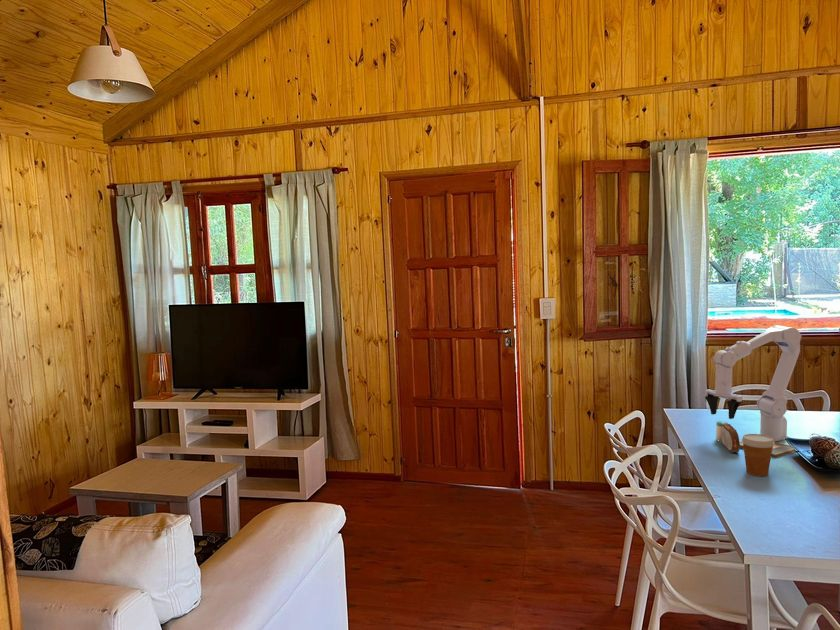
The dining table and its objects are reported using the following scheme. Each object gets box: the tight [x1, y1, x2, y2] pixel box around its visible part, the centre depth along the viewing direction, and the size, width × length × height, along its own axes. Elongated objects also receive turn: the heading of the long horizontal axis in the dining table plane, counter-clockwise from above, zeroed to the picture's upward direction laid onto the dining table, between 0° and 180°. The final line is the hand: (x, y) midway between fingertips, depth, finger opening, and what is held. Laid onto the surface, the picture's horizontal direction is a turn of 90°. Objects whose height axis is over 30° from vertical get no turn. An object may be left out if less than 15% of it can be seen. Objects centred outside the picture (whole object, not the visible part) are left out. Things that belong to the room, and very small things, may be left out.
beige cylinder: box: [715, 420, 729, 442], centre depth 235 cm, size 4×4×7 cm
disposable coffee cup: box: [741, 433, 776, 477], centre depth 199 cm, size 10×10×12 cm
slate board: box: [739, 440, 796, 459], centre depth 224 cm, size 14×16×1 cm
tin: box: [721, 423, 741, 453], centre depth 225 cm, size 15×3×8 cm, turn 168°
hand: (722, 416), depth 235 cm, fingers open, 7 cm apart
